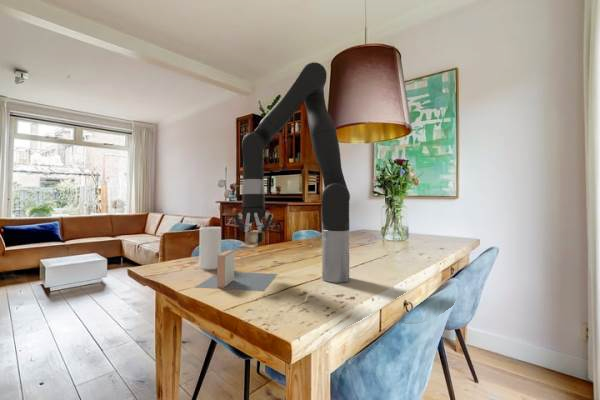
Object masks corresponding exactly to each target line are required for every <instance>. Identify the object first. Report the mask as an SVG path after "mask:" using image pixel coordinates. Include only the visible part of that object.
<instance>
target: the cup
mask: <svg viewBox="0 0 600 400" xmlns="http://www.w3.org/2000/svg"><path fill="white" fill-rule="evenodd" d="M198 244H199V247H198V248H199V251H198V252H199V254H198V255H199V257H198V259H199V264H198V265H199V266H198V268H199V269H201V270H216V269H217V255H219V254H221V253H222V227H221V226H201V227H199V243H198Z"/></svg>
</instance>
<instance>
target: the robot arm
mask: <svg viewBox="0 0 600 400" xmlns="http://www.w3.org/2000/svg"><path fill="white" fill-rule="evenodd" d="M326 83H327V70H326V68H325V67H324V65H323V64H321V63H319V62H309V63H307V64H305V65H304V66H303V68H302V69H301V71H300V72H299V74H298V76H297V77H296V79H295V81H294V82H293V83H292V85H291V86H290V87H289V89H288V90H287V91H286V93H284V94H283V96H282V97H281V98H280V99H279V100H278V102H277V103H276V104H275V105H273V107H272V108H271V109H270V110H269V112H268V113H267V114H266V115H265V116H263V118H262V119H261V120H260V122H259V123H258V126H257V127H256V128H255V129H254V131H253V132H248V133H246V134H245V135H244V136H243V138H242V141H241V152H242V153H241V154H242V185H241V188H242V190H241V193H242V194H241V195H242V210H241V211H240V212H239V213H238V214H234V215H233V217H234V219H235V223H236V224H237V226H238V229H239V231H241V232H244V233H248V232H251V229H252V224H253V223H255V224H256V228H257V230H258V232H259V233H258V245H261V244H262V243H263V242H264V232H266V231H268V230H269V228H270V226H271V224H272V220H273V218H274V214H273V213H269V212H267V210H266V208H265V207H266V206H265V205H266V202H265V198H266V196H265V194H266V193H265V182H264V164H263V161H264V160H263V155H264V150H265V148H266V147H267V146H268V145H269V144H270V142H271V141H272V140H273V138H275V136H277V135H278V133H279V132H280V131H281V130H282V129H284V127H285V126H286V125H287V123H288V122H290V120H291V118H292V117H293V115H294V114H295V112H297V110H298V108H299V107H300V106H301V104H302V103H304V107H305V110H306V114H307V123H308V124H307V125H308V128H309V136H310V140H311V141H310V142H311V145H312V150H313V153H314V156H315V159H316V161H317V164H318V166H319V168H320V172H321V176H322V181H323V187H324V189H323V191H322V194H321V222H322V252H321V253H322V255H321V256H322V258H321V260H322V261H321V263H322V264H321V265H322V266H321V269H322V271H321V278H322V280H323V281H325V282H329V283H335V284H336V283H337V284H339V283H349V282H350V200H351V194H350V191H349V188H348V185H347V183H346V180H345V176H344V173H343V169H342V161H341V160H342V159H341V152H340V151H341V149H340V145H339V137H338V134H337V129H336V126H335V123H334V121H333V119H332V117H331V115H330V113H329V111H328V108H327V107H326V106H327V105H326V101H325V91H324V90H325V85H326ZM264 218H265V220H266V221H265V223H264V225H263V219H264ZM243 219H245V223H244V222H243Z"/></svg>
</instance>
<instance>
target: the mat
mask: <svg viewBox="0 0 600 400" xmlns="http://www.w3.org/2000/svg"><path fill="white" fill-rule="evenodd" d="M277 276H278V273H263V272H262V273H261V272H245V271H243V272H241V271H234V280H233V281H232V282H231V283H230V284H228V285H227V286H226V287H224V288H218V287H217V273H216V274H213V275H212V276H210V277H209V278H208V279H206V280H204V281H202V282H201V283H199V284H198V285H196V286H195V287H194V288H196V289H197V288H199V289H215V290H231V291H232V290H235V291H251V292H252V291H253V292H265V291H266V289H268V287H269V285H270V284H271V283H272V282H273V280H275V278H276V277H277Z"/></svg>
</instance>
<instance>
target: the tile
mask: <svg viewBox="0 0 600 400" xmlns="http://www.w3.org/2000/svg"><path fill="white" fill-rule="evenodd" d="M216 269H217V272H216V274H217V287H218V288H224V287H226V286H227V285H228V284H230V283H231V282H232V281H233V280H234V272H235V250H225V251H224V252H221V254H219V255H217V268H216Z"/></svg>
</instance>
